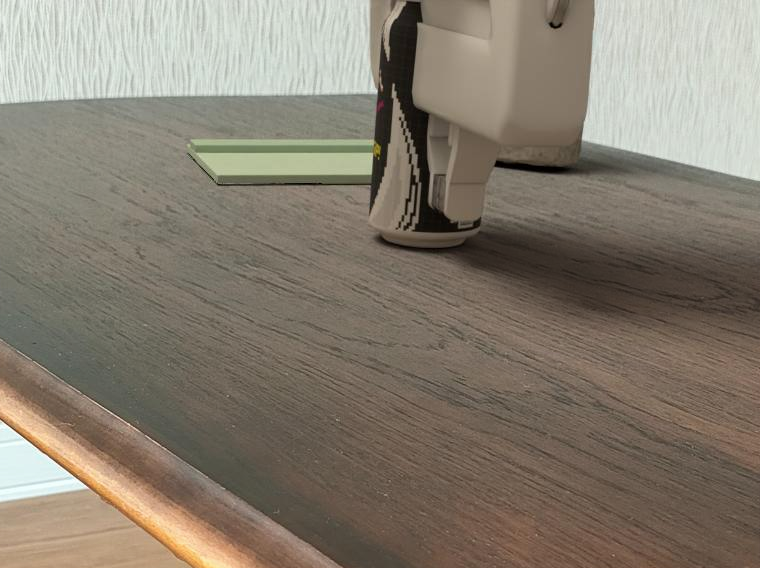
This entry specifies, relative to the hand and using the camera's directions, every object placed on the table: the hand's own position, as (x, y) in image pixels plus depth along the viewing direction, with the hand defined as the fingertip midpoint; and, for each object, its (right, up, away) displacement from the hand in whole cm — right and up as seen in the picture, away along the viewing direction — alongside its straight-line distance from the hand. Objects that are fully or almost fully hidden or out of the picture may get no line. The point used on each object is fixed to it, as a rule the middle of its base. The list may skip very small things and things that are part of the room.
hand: (454, 215), depth 70 cm
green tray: (-5, +9, +25) cm, 27 cm away
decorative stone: (+8, +10, +29) cm, 32 cm away
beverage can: (-1, 0, +5) cm, 5 cm away
